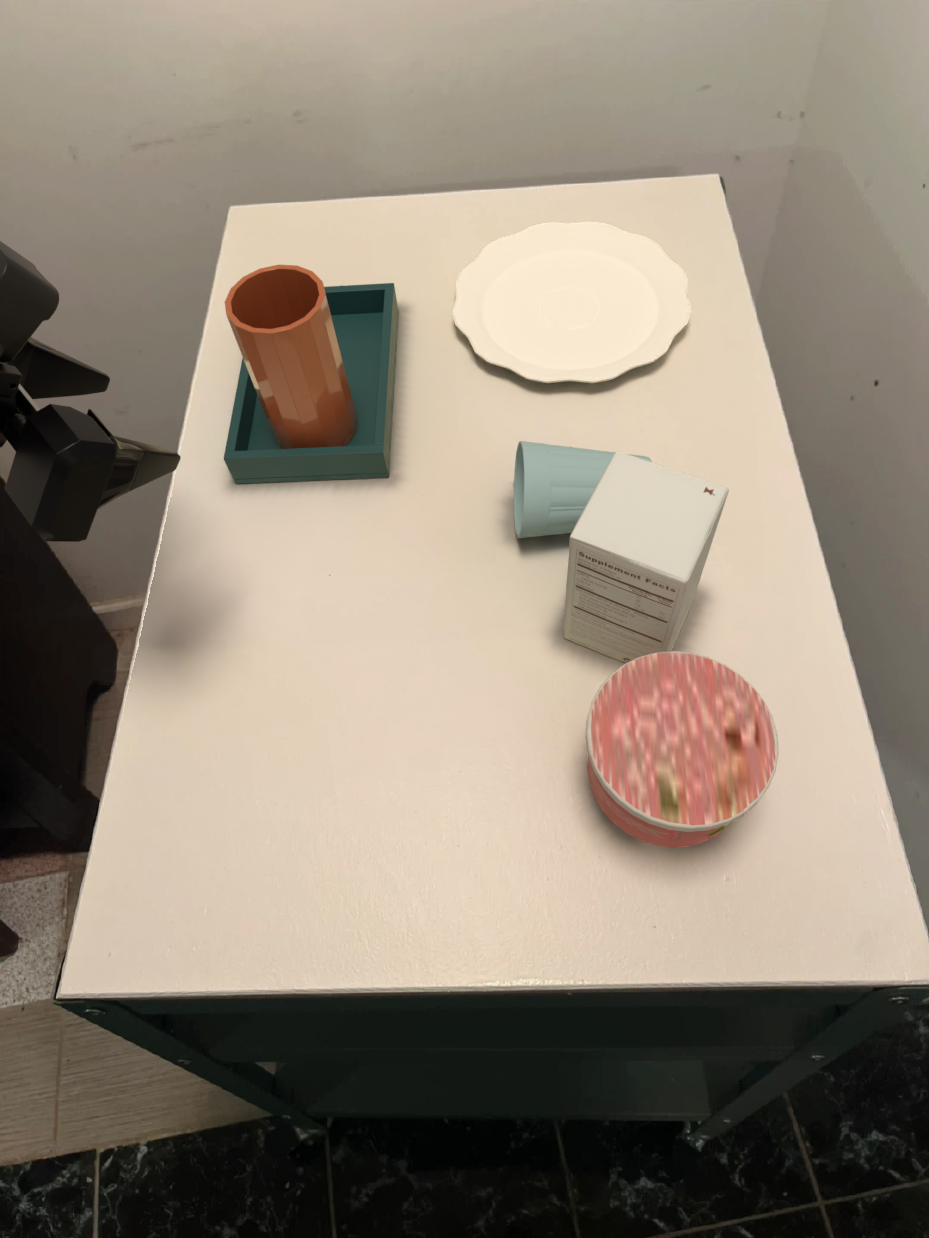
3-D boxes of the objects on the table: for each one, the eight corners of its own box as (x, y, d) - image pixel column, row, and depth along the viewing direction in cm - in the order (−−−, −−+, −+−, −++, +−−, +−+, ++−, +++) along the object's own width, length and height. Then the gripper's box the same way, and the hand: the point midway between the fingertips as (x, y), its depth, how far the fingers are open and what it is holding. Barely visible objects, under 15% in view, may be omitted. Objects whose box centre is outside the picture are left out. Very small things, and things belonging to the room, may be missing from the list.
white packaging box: (600, 560, 61) (616, 445, 50) (696, 597, 59) (735, 485, 48) (558, 639, 58) (565, 535, 47) (658, 681, 56) (689, 582, 45)
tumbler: (324, 471, 67) (283, 345, 55) (257, 440, 69) (204, 312, 57) (374, 414, 69) (344, 283, 58) (308, 385, 71) (267, 253, 60)
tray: (388, 477, 67) (383, 452, 64) (235, 484, 67) (223, 459, 65) (398, 311, 76) (393, 282, 74) (264, 318, 77) (254, 290, 74)
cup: (629, 492, 66) (511, 491, 66) (648, 422, 60) (519, 420, 60) (643, 557, 62) (517, 556, 61) (665, 488, 56) (526, 487, 56)
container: (581, 862, 51) (590, 825, 44) (575, 704, 56) (583, 649, 49) (756, 865, 50) (793, 829, 43) (734, 705, 55) (765, 650, 48)
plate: (735, 339, 72) (739, 324, 70) (522, 429, 68) (522, 415, 67) (609, 210, 81) (610, 195, 80) (417, 284, 78) (415, 268, 76)
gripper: (-32, 323, 33) (271, 386, 46) (-183, 136, 41) (112, 234, 53) (-91, 547, 38) (199, 548, 50) (-217, 341, 45) (62, 387, 58)
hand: (141, 421), depth 53 cm, fingers open, 9 cm apart
